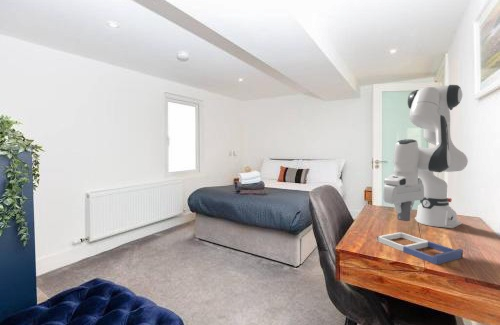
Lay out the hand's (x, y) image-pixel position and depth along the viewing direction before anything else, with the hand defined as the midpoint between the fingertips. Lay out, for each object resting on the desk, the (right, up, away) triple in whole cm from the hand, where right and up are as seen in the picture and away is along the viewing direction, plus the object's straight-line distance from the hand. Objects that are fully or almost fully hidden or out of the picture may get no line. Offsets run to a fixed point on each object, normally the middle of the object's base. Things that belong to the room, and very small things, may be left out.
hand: (403, 212), depth 105 cm
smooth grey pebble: (0, -3, 0) cm, 3 cm away
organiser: (+2, -14, -5) cm, 15 cm away
